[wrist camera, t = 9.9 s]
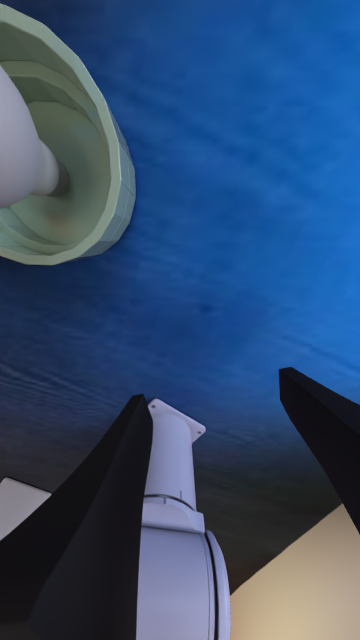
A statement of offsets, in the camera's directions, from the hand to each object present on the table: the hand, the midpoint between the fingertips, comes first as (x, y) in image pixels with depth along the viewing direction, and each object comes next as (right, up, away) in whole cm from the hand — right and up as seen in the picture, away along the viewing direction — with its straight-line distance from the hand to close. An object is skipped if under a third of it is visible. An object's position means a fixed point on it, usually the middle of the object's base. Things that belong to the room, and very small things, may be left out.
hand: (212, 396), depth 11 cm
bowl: (-11, +15, +5) cm, 19 cm away
